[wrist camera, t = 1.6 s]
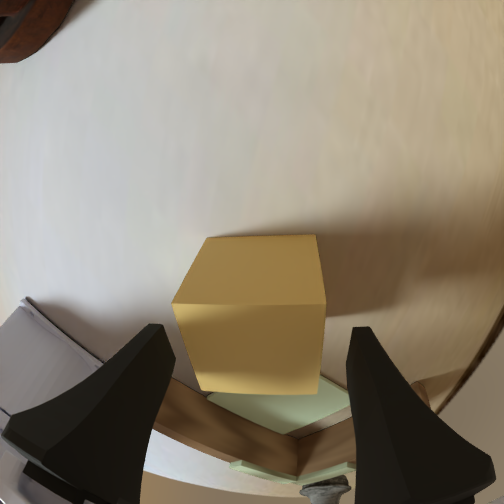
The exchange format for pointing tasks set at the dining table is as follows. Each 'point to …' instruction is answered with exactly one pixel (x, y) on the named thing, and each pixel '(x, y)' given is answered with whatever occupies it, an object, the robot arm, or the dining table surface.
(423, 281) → the dining table surface
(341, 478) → the grey stone finial
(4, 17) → the figurine
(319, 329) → the ochre block
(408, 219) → the dining table surface
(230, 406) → the sage pad
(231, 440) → the walnut walls
